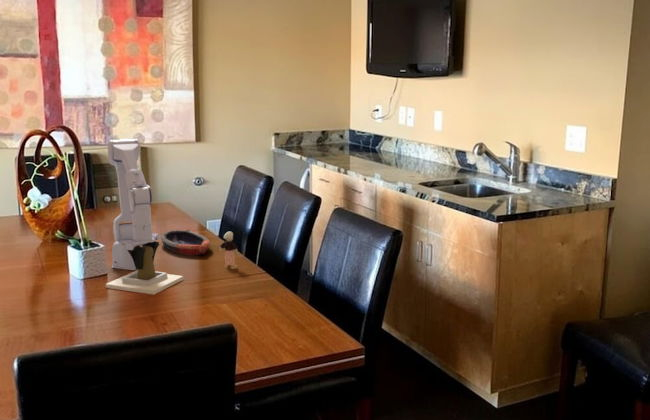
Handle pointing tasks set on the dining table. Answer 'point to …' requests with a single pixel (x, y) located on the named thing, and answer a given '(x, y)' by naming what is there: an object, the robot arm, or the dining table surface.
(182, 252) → the dish
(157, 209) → the dining table surface
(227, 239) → the grandmother figurine
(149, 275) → the cork
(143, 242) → the robot arm
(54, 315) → the dining table surface
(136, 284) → the holder board
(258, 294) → the dining table surface
